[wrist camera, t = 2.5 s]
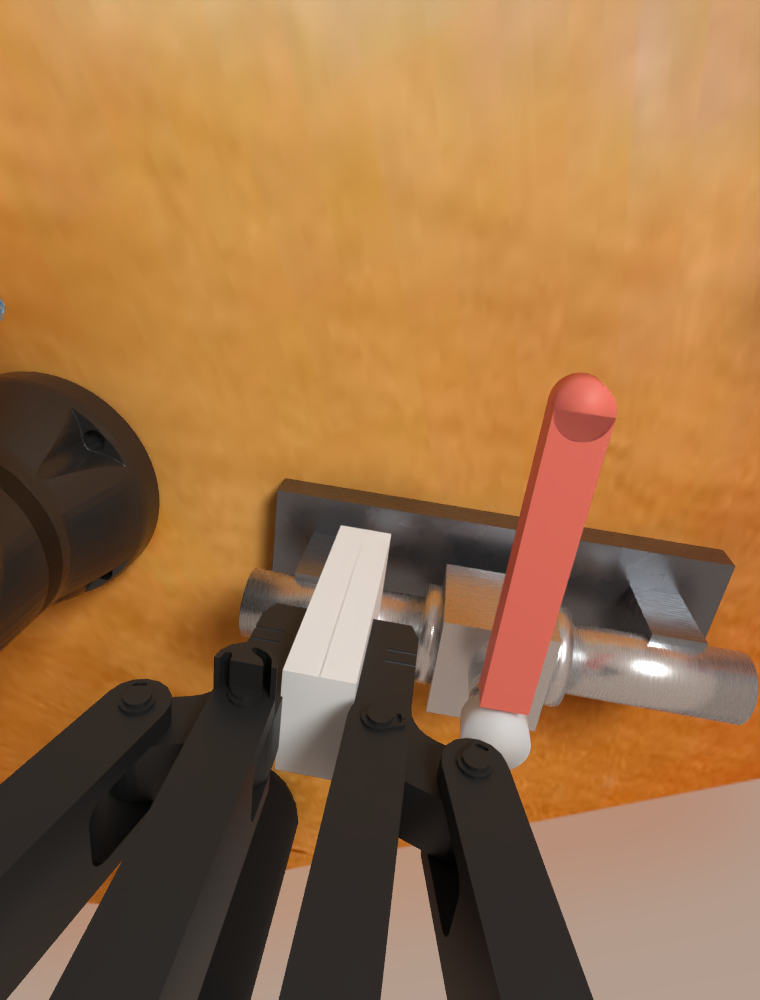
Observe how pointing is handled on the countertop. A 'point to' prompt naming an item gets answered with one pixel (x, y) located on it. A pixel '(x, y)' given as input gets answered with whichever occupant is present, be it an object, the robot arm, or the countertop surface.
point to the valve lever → (540, 562)
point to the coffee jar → (253, 900)
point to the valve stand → (476, 592)
